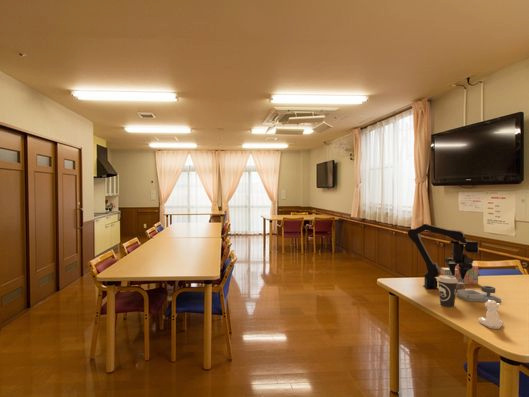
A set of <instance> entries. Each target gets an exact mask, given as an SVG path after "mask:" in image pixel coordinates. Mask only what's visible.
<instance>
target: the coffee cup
mask: <svg viewBox="0 0 529 397" xmlns="http://www.w3.org/2000/svg"><path fill="white" fill-rule="evenodd" d="M457 283H458V281H457V279H456V277H453V276H448V275H441V274H440V275H438V276H437V284H438V294H439V303H440V306H443V307H446V308H447V307H448V308H454V307H455V303H456V302H455V301H456V285H457Z"/></svg>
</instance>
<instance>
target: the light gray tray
mask: <svg viewBox="0 0 529 397" xmlns="http://www.w3.org/2000/svg"><path fill="white" fill-rule="evenodd" d="M455 296H457V297H459V298H461V299H463V300H465V301H466V302H487V301H488V300H494V301H496V302H502V298H500V297H497V296H496V295H493V294H492V293H486V292H482V291H481V292H480V291H478V290H475V289H465V290H457V293H456V294H455Z"/></svg>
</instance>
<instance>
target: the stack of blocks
mask: <svg viewBox="0 0 529 397" xmlns="http://www.w3.org/2000/svg"><path fill="white" fill-rule="evenodd" d="M472 265H473V269H471V270H468V271H467V273H466V275H465V277H464V279H461V276H460V272H459V268H460V267H459V265H458V264H457V265H456V267H455V274H454V275H452V273H451V271H450V269H449V267H440V275H448V276H453V277H456V279H457V281H458V282H462V283H464V284H465V285H466V284H467V285H479V265H476V264H474V263H472Z"/></svg>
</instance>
